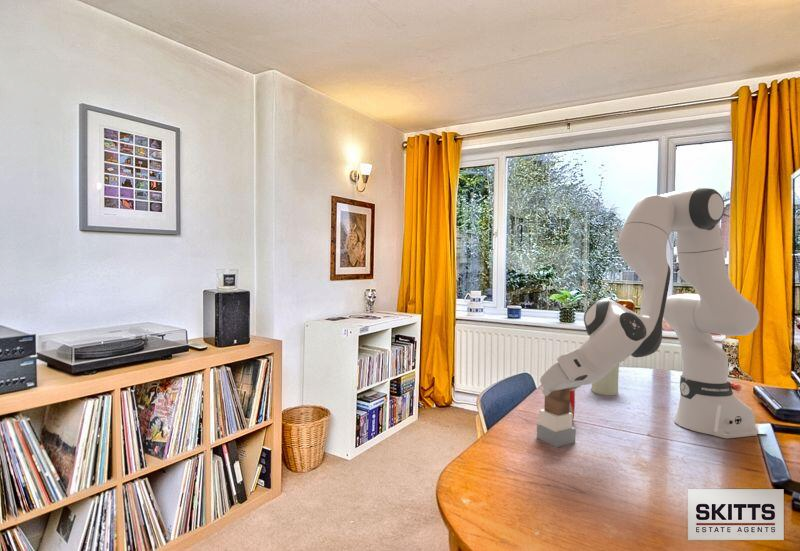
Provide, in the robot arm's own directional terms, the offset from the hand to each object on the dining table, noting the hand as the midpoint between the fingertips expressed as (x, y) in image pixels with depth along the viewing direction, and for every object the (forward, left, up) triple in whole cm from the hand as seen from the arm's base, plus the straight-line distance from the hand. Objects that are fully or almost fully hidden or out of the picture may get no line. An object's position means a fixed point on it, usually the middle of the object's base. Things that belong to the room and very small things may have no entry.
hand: (557, 391), depth 119 cm
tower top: (0, 0, -10) cm, 10 cm away
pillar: (0, 0, -6) cm, 6 cm away
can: (-36, -43, -14) cm, 58 cm away
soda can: (-8, -15, -14) cm, 22 cm away
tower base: (0, 0, -14) cm, 14 cm away
